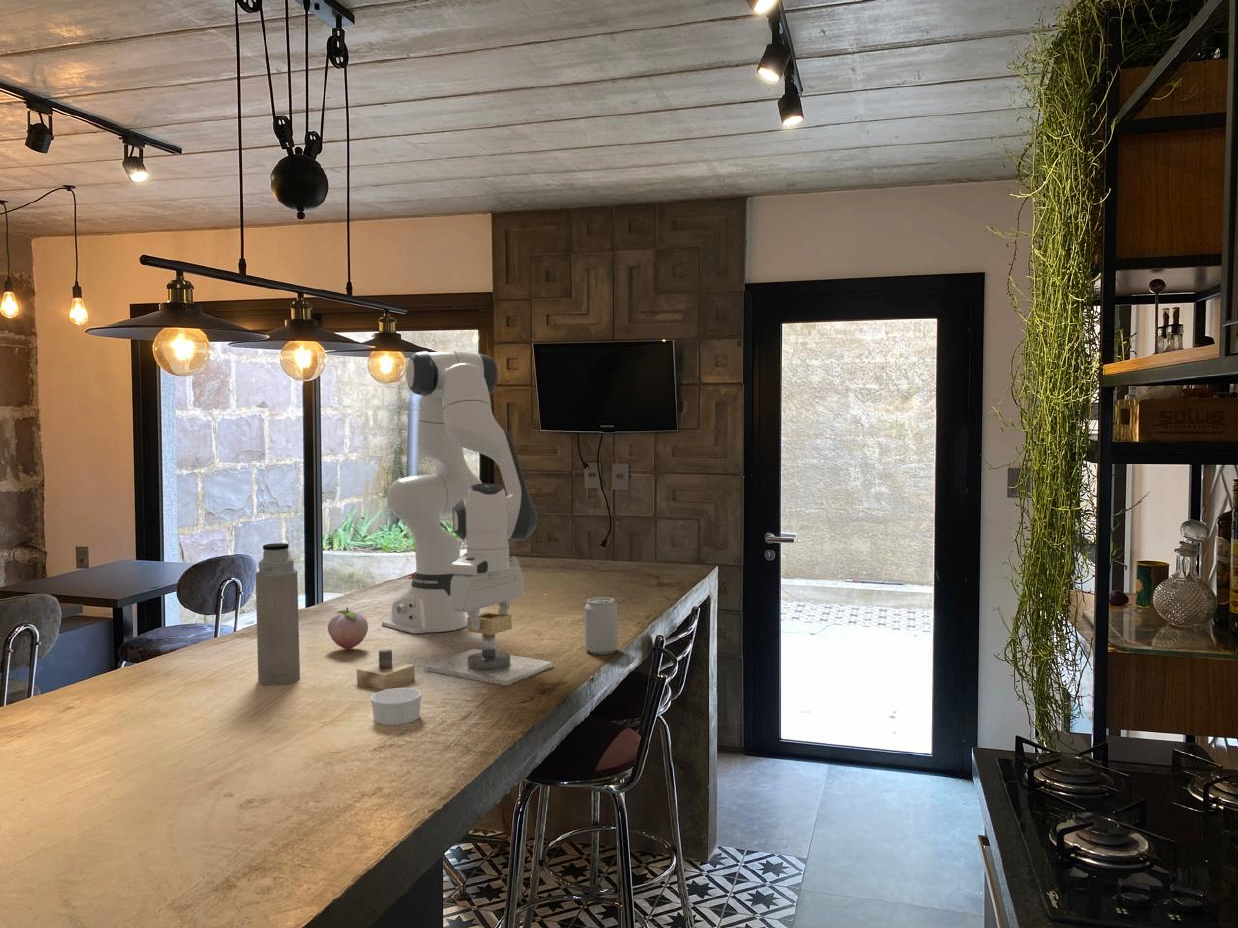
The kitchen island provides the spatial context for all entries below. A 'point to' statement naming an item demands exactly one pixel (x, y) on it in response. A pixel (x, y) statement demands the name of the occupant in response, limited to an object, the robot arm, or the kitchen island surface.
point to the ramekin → (396, 706)
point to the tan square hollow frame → (491, 623)
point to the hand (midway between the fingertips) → (489, 625)
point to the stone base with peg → (489, 665)
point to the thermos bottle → (277, 617)
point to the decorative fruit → (348, 629)
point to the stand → (385, 672)
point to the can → (601, 626)
